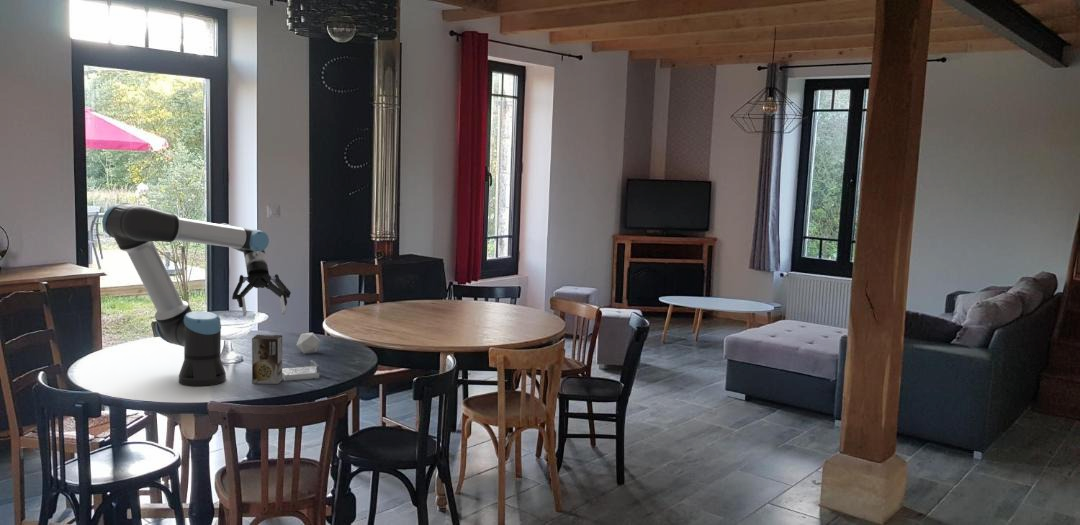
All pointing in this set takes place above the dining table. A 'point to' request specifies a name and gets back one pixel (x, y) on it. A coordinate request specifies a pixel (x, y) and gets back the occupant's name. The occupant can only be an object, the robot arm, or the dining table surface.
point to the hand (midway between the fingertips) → (264, 313)
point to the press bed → (301, 372)
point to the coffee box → (267, 359)
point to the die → (308, 343)
